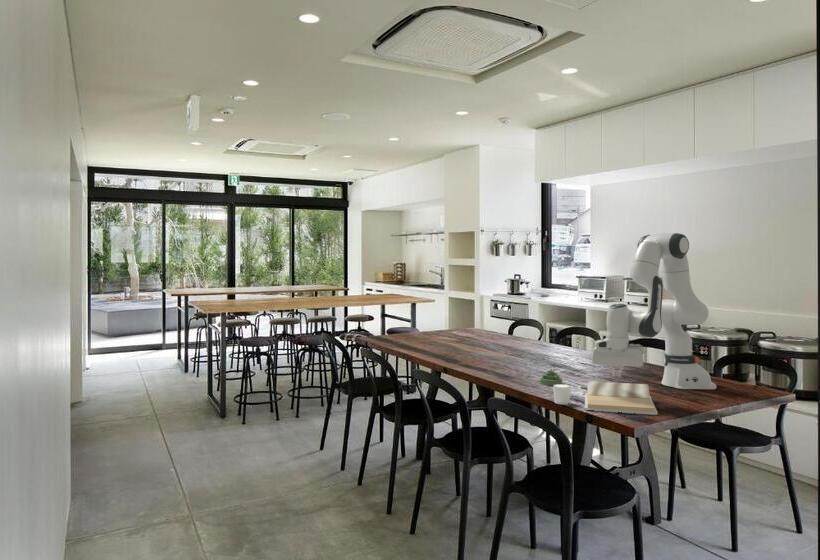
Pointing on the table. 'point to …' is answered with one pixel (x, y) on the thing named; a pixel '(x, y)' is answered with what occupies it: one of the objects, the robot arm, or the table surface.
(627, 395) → the tilted plank
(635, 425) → the table surface
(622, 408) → the cream square board
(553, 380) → the decorative artifact
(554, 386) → the white cylinder
